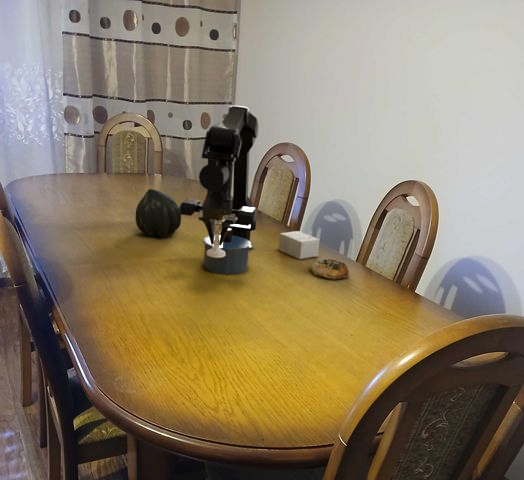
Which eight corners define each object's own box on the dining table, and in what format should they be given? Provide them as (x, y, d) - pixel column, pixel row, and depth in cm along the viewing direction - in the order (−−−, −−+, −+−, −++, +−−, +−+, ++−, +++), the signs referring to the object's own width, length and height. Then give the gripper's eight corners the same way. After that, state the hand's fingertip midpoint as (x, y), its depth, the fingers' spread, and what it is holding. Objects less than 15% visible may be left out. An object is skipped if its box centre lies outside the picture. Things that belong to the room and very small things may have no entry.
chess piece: (205, 256, 143) (207, 217, 139) (207, 250, 148) (209, 212, 143) (225, 258, 144) (227, 219, 139) (226, 252, 148) (228, 214, 143)
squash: (197, 220, 183) (173, 179, 181) (166, 230, 171) (141, 186, 170) (172, 240, 192) (149, 201, 191) (141, 251, 180) (117, 210, 179)
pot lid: (209, 235, 165) (210, 220, 163) (253, 242, 164) (255, 226, 162) (198, 248, 153) (199, 231, 151) (245, 255, 152) (247, 238, 150)
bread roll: (351, 270, 168) (353, 255, 165) (343, 287, 159) (345, 271, 157) (315, 265, 171) (316, 249, 168) (305, 280, 162) (306, 265, 160)
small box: (277, 249, 181) (299, 259, 174) (279, 232, 178) (301, 242, 171) (296, 247, 185) (317, 256, 178) (298, 230, 183) (320, 239, 176)
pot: (209, 257, 167) (210, 234, 164) (249, 263, 166) (252, 240, 163) (199, 270, 156) (200, 246, 153) (242, 276, 155) (244, 252, 152)
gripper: (173, 183, 131) (172, 248, 138) (252, 194, 129) (246, 259, 136) (186, 175, 141) (184, 236, 148) (259, 185, 139) (254, 246, 146)
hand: (216, 244), depth 144 cm, fingers closed on chess piece
